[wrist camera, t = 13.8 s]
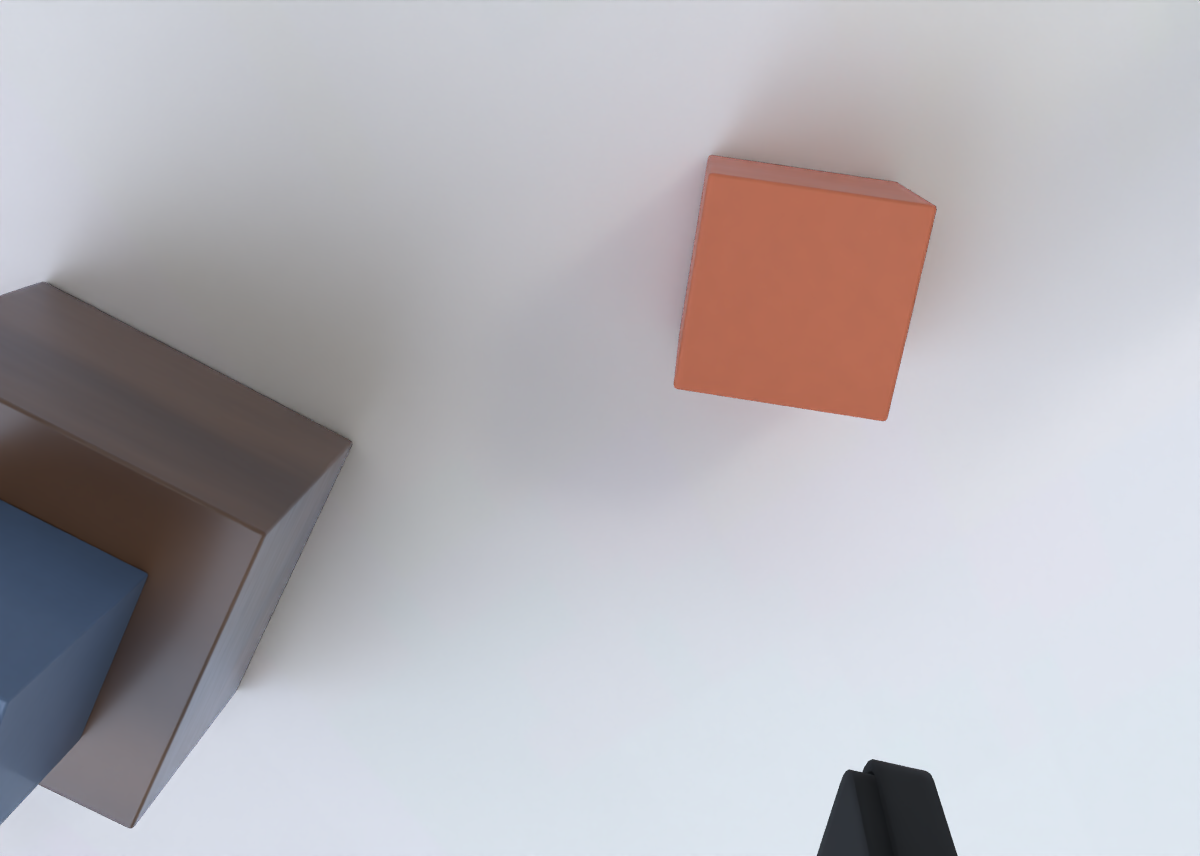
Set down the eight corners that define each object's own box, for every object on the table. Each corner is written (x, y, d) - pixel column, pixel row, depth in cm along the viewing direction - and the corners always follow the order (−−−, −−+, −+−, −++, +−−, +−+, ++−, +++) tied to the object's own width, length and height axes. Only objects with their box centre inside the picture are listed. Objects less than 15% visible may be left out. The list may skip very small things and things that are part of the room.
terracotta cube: (708, 154, 25) (708, 171, 21) (899, 181, 25) (938, 205, 21) (678, 338, 27) (673, 389, 22) (858, 365, 27) (887, 422, 22)
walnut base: (43, 279, 28) (-127, 334, 22) (354, 441, 28) (266, 534, 23) (-49, 552, 31) (-219, 662, 25) (235, 693, 31) (130, 831, 26)
